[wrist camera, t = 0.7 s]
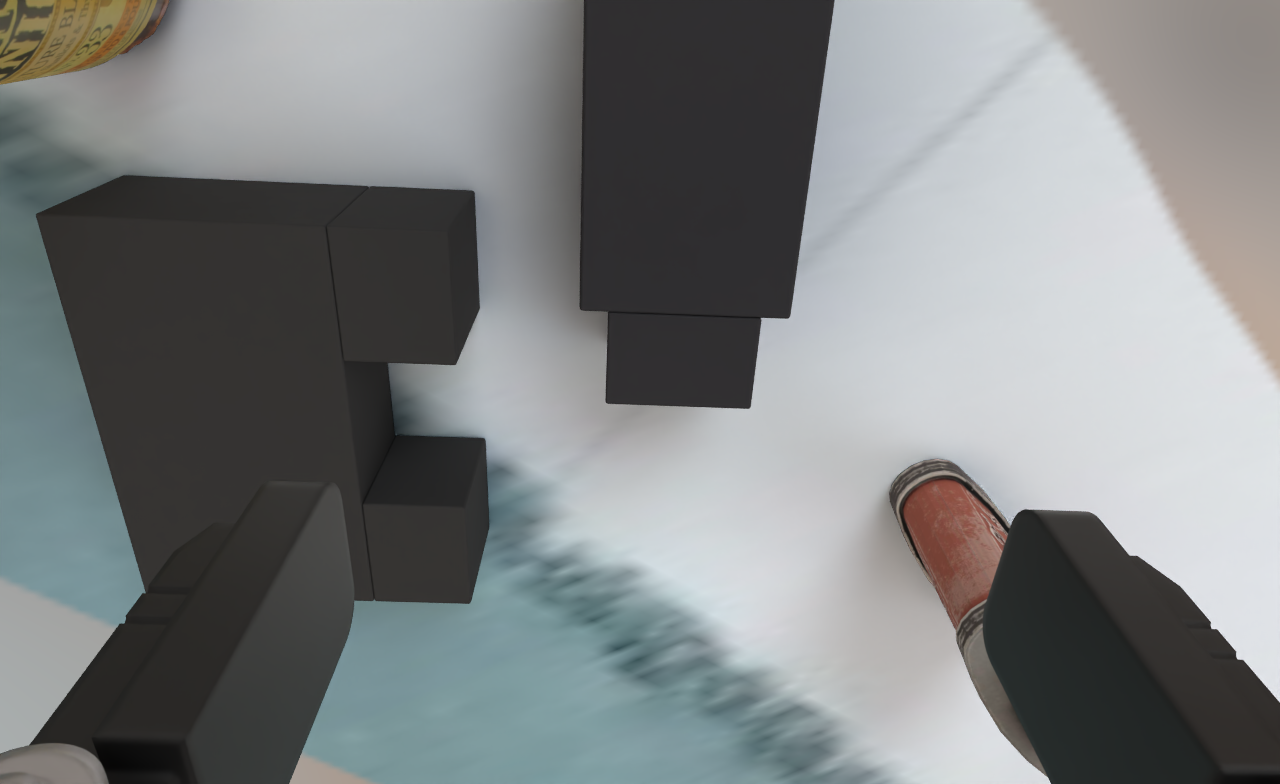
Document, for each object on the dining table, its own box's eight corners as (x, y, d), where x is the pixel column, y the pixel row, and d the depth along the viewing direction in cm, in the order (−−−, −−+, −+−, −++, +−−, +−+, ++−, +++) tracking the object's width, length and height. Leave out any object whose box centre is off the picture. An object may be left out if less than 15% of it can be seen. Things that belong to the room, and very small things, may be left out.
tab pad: (584, 343, 27) (578, 403, 23) (593, -129, 21) (585, -145, 17) (757, 349, 27) (777, 410, 23) (815, -116, 21) (854, -130, 17)
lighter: (1050, 590, 31) (1216, 840, 23) (968, 630, 32) (1096, 887, 23) (956, 440, 28) (1105, 663, 19) (867, 490, 29) (971, 724, 20)
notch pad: (121, 174, 24) (33, 213, 20) (474, 190, 24) (447, 231, 21) (203, 518, 29) (145, 595, 26) (489, 527, 30) (471, 604, 26)
